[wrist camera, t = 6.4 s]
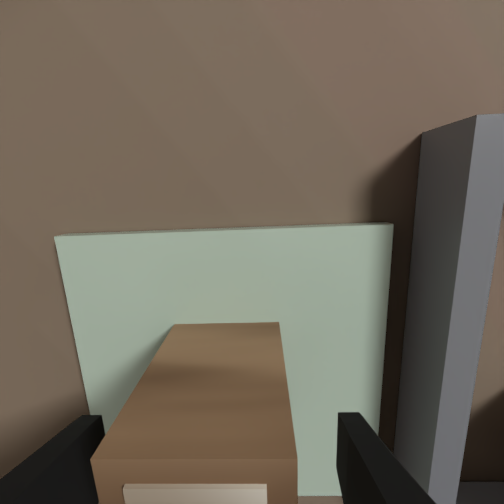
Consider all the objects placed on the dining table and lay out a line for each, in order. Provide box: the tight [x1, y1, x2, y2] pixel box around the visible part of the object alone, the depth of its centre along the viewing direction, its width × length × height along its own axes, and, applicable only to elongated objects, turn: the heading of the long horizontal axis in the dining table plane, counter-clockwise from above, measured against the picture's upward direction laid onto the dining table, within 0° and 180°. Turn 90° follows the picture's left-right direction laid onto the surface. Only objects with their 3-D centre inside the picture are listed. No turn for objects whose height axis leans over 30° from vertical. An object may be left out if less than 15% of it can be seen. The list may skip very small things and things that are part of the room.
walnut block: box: [90, 322, 298, 504], centre depth 8 cm, size 4×4×6 cm
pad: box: [54, 222, 394, 496], centre depth 12 cm, size 12×12×1 cm
